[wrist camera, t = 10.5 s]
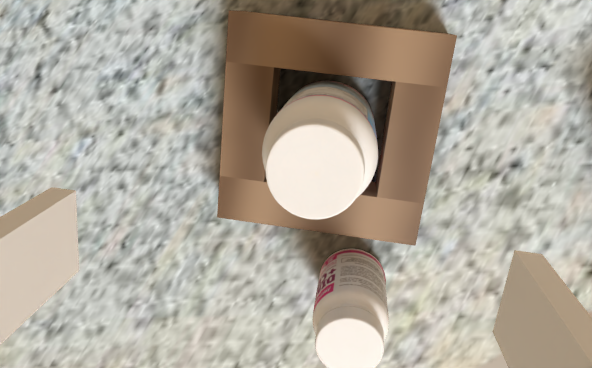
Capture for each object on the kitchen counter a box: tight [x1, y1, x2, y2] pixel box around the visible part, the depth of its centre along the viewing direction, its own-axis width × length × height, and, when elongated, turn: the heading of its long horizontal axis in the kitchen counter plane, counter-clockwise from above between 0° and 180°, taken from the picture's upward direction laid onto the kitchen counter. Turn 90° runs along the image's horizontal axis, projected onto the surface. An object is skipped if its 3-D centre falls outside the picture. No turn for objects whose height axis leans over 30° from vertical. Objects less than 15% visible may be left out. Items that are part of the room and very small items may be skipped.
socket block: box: [217, 10, 457, 245], centre depth 32 cm, size 13×13×3 cm
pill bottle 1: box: [262, 80, 378, 219], centre depth 29 cm, size 6×6×11 cm
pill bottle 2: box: [313, 249, 389, 368], centre depth 33 cm, size 5×5×8 cm
